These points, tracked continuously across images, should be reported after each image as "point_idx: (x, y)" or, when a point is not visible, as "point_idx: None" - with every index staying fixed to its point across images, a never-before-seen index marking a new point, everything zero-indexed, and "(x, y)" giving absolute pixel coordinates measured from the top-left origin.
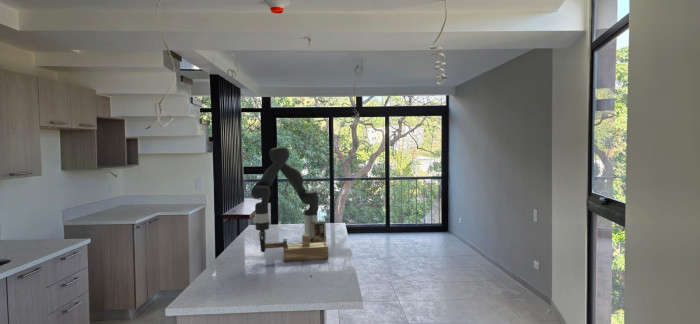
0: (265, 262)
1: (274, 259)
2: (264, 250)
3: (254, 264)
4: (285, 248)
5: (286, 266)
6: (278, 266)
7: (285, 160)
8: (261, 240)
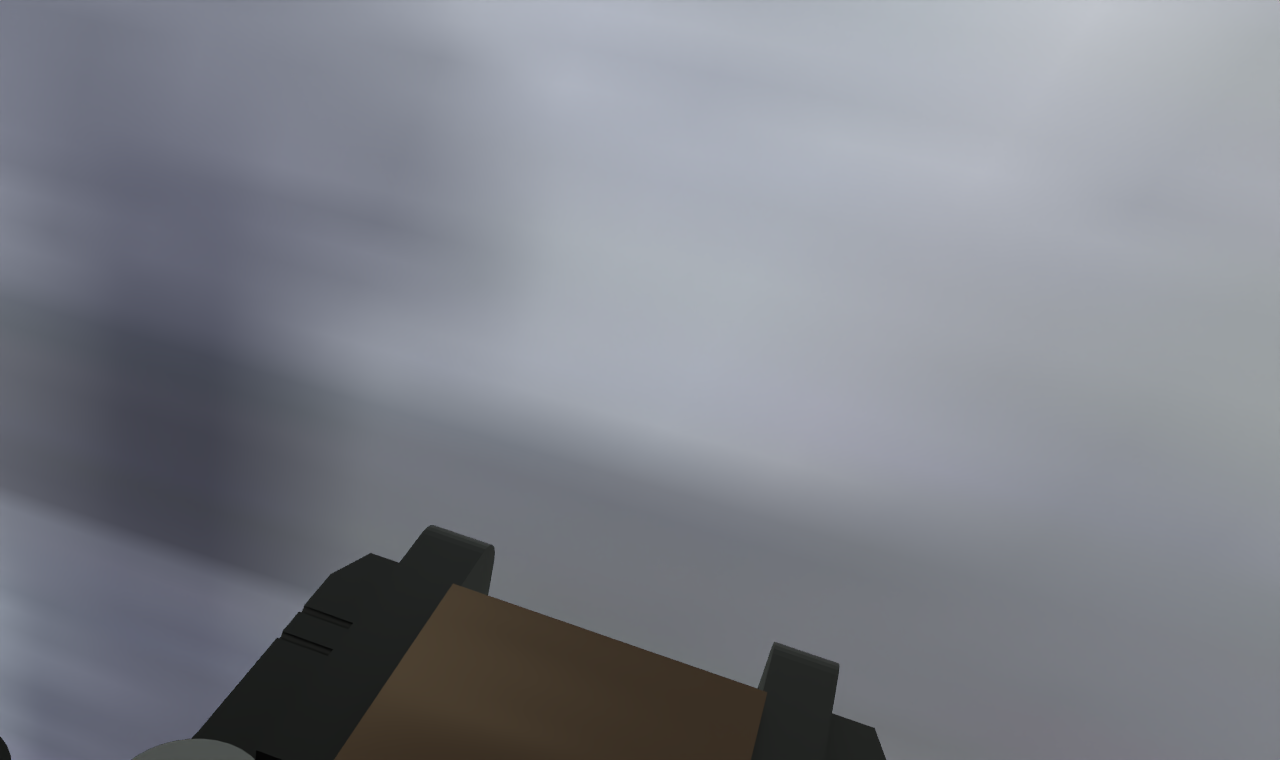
0: (502, 409)
1: None
2: None
3: (417, 9)
4: None
5: (2, 709)
6: (35, 577)
7: None
8: None
